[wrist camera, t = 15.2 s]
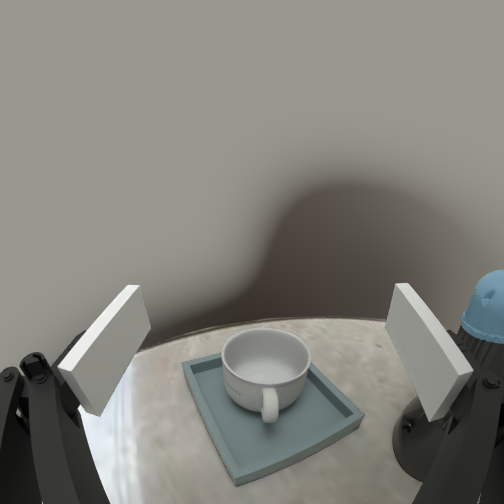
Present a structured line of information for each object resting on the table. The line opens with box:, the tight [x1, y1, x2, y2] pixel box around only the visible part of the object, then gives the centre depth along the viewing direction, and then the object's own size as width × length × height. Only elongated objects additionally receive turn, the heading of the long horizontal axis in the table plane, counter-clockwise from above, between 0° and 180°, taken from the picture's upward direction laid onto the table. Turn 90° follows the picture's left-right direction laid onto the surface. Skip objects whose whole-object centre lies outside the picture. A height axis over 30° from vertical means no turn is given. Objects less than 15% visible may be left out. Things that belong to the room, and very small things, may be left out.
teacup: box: [221, 327, 311, 423], centre depth 31 cm, size 14×11×8 cm
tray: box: [182, 353, 365, 487], centre depth 32 cm, size 17×20×3 cm
